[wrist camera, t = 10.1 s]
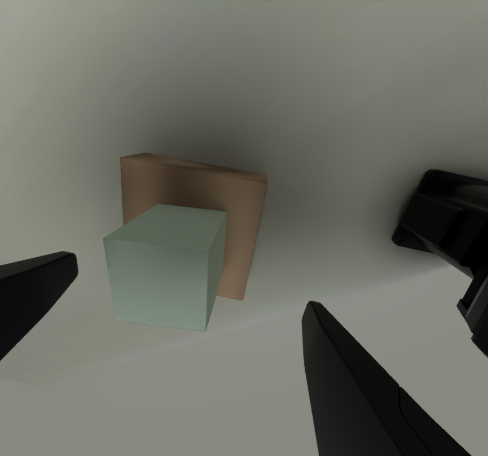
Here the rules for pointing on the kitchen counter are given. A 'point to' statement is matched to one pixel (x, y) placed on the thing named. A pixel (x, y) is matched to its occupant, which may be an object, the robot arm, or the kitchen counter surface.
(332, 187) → the kitchen counter surface
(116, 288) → the sage cube
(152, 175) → the walnut block
